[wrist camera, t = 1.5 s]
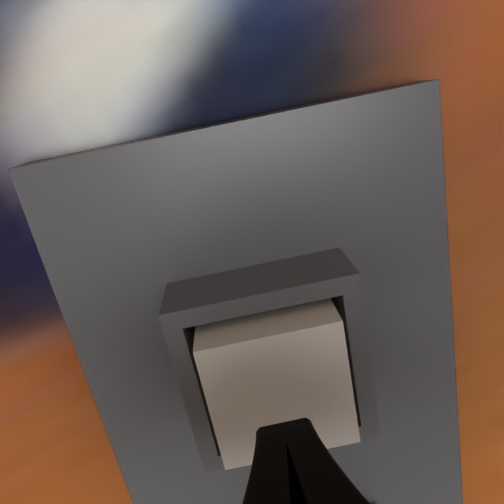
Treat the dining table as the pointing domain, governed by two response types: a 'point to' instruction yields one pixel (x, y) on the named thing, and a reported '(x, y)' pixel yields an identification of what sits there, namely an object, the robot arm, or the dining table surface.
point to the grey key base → (261, 281)
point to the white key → (276, 376)
